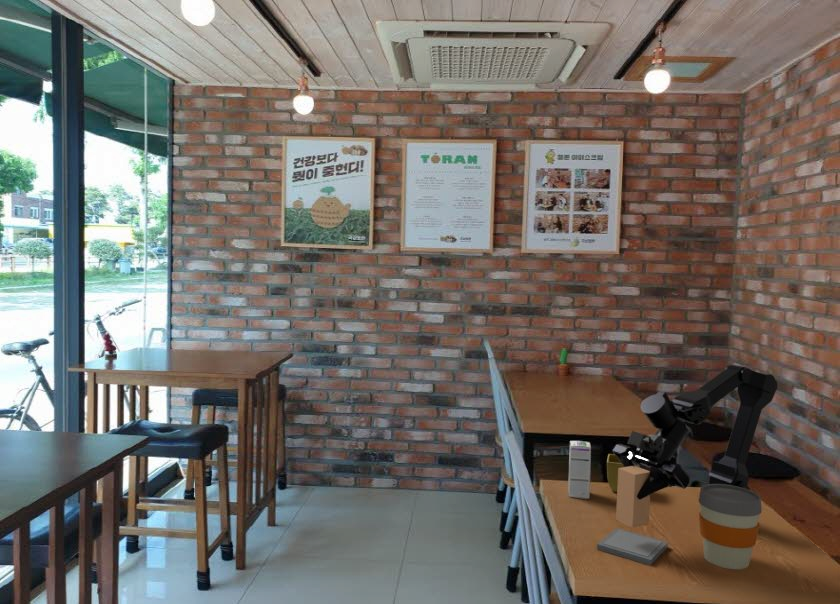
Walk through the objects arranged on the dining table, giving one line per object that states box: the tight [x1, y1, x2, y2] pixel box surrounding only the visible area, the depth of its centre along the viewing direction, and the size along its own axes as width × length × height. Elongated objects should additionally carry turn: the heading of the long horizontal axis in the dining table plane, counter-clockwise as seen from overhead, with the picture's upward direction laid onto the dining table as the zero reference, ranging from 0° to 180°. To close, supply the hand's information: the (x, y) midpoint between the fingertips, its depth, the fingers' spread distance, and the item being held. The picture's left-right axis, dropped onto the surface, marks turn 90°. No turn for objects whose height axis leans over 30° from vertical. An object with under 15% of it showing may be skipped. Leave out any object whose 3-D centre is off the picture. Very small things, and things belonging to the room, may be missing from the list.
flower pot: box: [606, 453, 641, 493], centre depth 188 cm, size 9×9×9 cm
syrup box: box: [567, 440, 592, 500], centre depth 183 cm, size 6×6×14 cm
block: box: [615, 466, 651, 529], centre depth 149 cm, size 5×5×12 cm
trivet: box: [596, 527, 669, 566], centre depth 149 cm, size 12×12×1 cm
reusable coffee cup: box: [698, 483, 763, 570], centre depth 145 cm, size 13×13×15 cm
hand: (629, 494), depth 149 cm, fingers closed on block, 5 cm apart
